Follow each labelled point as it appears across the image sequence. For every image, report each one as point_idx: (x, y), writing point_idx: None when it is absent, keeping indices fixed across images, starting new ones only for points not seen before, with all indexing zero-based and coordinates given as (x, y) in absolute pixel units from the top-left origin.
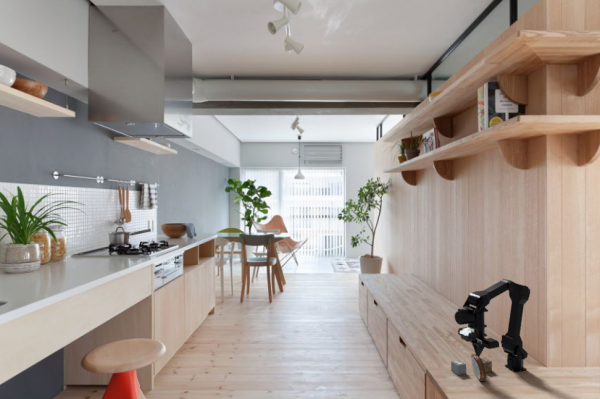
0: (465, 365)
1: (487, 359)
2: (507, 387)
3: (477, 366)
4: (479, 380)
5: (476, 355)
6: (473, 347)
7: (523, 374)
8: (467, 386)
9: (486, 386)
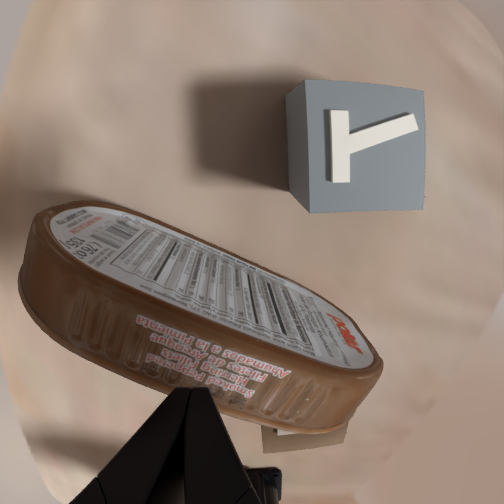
0: (305, 199)
1: (304, 446)
2: (42, 331)
3: (121, 259)
4: (125, 209)
5: (205, 390)
6: (257, 501)
7: None
8: (88, 56)
9: None
